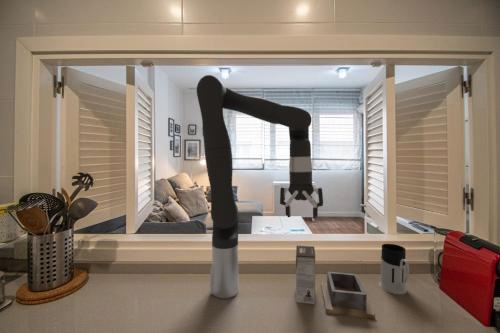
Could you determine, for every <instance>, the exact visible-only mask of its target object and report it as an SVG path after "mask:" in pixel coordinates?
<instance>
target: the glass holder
mask: <svg viewBox="0 0 500 333" xmlns="http://www.w3.org/2000/svg"><path fill="white" fill-rule="evenodd" d="M406 253H407V252H406V248H405V247H404V246H401V245H398V244H393V243H384V244H382V245H381V256H380V281H379V283H378V285H379V287H380V288H381V289H382V290H384V291H385V292H388V293H390V294H395V295H405V294H407V292H408V290H407V288H406V283H407V282H408V280H409V278H410V277H409V276H410V264H409V262H408V260H407V259H406Z"/></svg>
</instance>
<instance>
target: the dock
mask: <svg viewBox="0 0 500 333" xmlns="http://www.w3.org/2000/svg"><path fill="white" fill-rule="evenodd" d="M326 279H327V280H326V282H320V288H321V293H322V297H323V298H322V299H323V304H324V310H325V314H333V315H334V314H335V315H339V316H340V315H342V316H349V317H356V318H358V317H359V318H365V319H366V318H367V319H373V320H374V319H376V314H375V312H374V310H373V308H372V305H371V304H370V301H369V300H368V297H367V293H366V291H365V288H364V287H363V285H362V282H361V280H360V278H359V276H358V275H357V274H356V273H348V272H347V273H346V272H337V271H334V272H333V271H327V272H326Z"/></svg>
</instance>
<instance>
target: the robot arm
mask: <svg viewBox="0 0 500 333" xmlns="http://www.w3.org/2000/svg"><path fill="white" fill-rule="evenodd" d="M196 97H197V100H198V105H199V109H200V115H201V122H202V135H203V136H202V137H203V145H204V146H203V147H204V149H203V150H204V157H205V165H206V171H207V177H208V182H209V187H210V218H211V221H212V236H211V259H212V260H211V262H212V264H211V266H210V268H209V270H210V271H209V273H210V274H209V276H210V279H209V280H210V281H209V282H210V283H209V284H210V285H209V286H210V287H209V288H210V289H209V290H210V291H209V292H210V295H212V296H214V297H215V298H218V299H222V300H224V299H225V300H227V299H231V298H233V297H235V296H237V295H238V293H239V209H238V205H237V204H236V202H235V197H234V191H233V190H234V189H233V167H234V166H233V164H234V163H233V151H232V144H231V138H230V135H229V132H228V129H227V125H226V122H225V118H224V110H230V111H234V112H238V113H241V114H244V115H247V116H250V117H252V118H255V119H258V120H261V121H264V122H267V123H270V124H273V125H281V126H285V127H287V128H288V135H289V162H288V165H289V168H288V169H289V172H288V175H289V187H285V186H282V187H280V190H279V192H280V193H279V194H280V195H279V204H280V205H283V206H284V207H285V215H286V216H287V218H291V204H292V202H293V201H294V200H295V201H305V202H306V201H307V200H308V202H309V203H310V204H311V206H313V207H312V220H316V218H318V216H319V211H318V210H319V209H318V208H320V207H323V206H324V197H323V196H324V194H323V188H322V187H321V186H320V187H314V186H313V162H312V146H311V144H312V143H311V141H310V130H309V129H310V126H311V124H312V116H311V114H310V112H309V111H308V110H306V109H304V108H300V107H297V106H291V105H286V104H282V103H279V102H276V101H273V100H270V99H267V98H263V97H259V96H253V95H252V96H251V95H246V94H242V93H239V92H236V91H234V90H232V89H230V88H229V87H226V86H225V85H224V83H223V82H222V81H221V80H220V79H219V78H218V77H216V76H214V75H210V74H207V75H204V76H202V77H201V78H200V79H199V80H198V83H197V86H196ZM287 192H289V194H290V195H291V196H289V198H288V200H287V201H286V194H287ZM314 192H315V194H316V195H318V202H317V201H316V200H315V198H314V197H313V196H312V195H313V193H314Z"/></svg>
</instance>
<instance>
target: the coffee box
mask: <svg viewBox="0 0 500 333" xmlns="http://www.w3.org/2000/svg"><path fill="white" fill-rule="evenodd" d="M295 250H296V251H295V253H296V254H295V302H296V303H299V304H302V303H303V304H311V305H315V304H316V250H315V246H310V245H308V246H307V245H296V249H295Z"/></svg>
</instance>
